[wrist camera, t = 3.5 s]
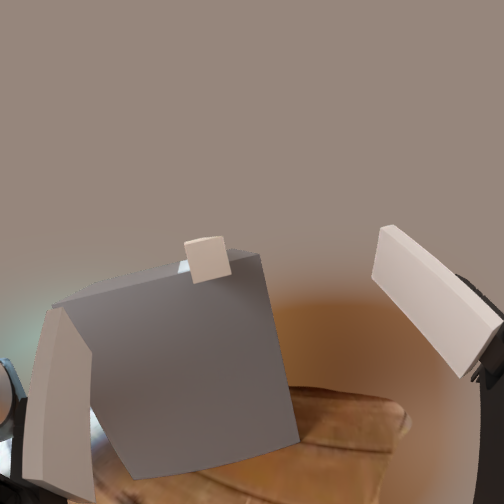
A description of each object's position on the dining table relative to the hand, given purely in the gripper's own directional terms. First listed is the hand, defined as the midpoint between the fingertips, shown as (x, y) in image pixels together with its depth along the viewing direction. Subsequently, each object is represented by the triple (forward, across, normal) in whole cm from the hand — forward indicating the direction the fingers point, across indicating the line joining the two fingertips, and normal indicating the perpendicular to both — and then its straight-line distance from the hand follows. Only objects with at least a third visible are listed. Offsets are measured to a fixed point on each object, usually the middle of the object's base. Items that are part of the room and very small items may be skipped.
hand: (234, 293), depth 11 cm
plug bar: (+22, 0, -14) cm, 26 cm away
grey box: (+13, -6, -42) cm, 45 cm away
